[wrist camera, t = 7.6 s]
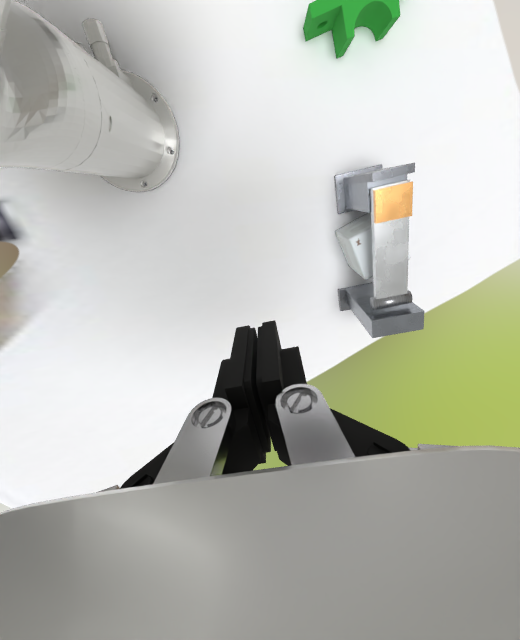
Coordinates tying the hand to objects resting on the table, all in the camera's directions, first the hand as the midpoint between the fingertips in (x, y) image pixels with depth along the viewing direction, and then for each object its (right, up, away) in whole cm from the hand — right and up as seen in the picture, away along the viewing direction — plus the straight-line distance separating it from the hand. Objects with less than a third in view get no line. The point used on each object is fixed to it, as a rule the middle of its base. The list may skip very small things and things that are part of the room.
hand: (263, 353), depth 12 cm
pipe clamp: (+10, +34, +18) cm, 40 cm away
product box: (+15, +13, +28) cm, 34 cm away
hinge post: (+16, +6, +31) cm, 36 cm away
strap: (+14, +10, +19) cm, 26 cm away
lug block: (+13, +19, +25) cm, 34 cm away
